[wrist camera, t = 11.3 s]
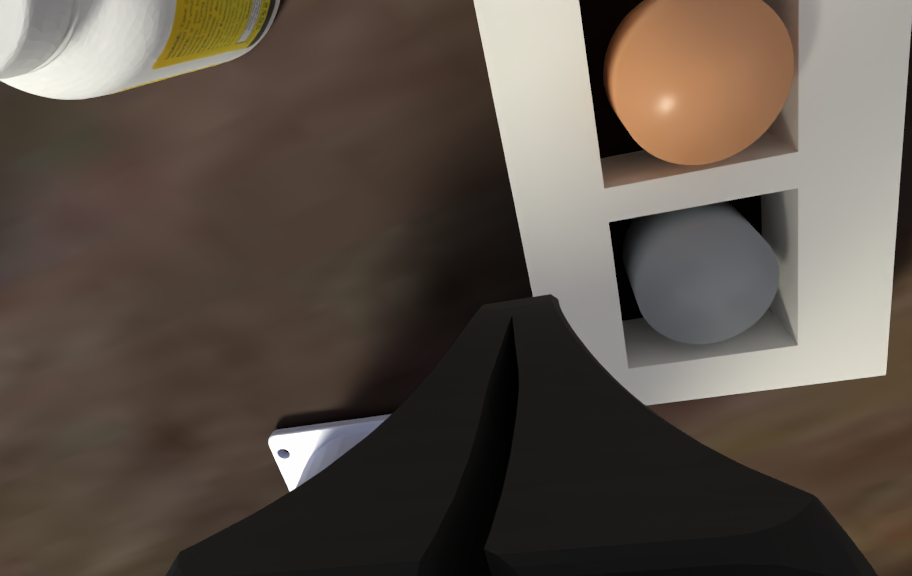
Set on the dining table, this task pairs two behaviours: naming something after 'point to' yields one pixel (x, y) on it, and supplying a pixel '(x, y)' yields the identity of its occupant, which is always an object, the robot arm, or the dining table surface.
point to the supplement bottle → (121, 41)
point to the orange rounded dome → (698, 76)
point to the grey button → (700, 272)
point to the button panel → (717, 196)
